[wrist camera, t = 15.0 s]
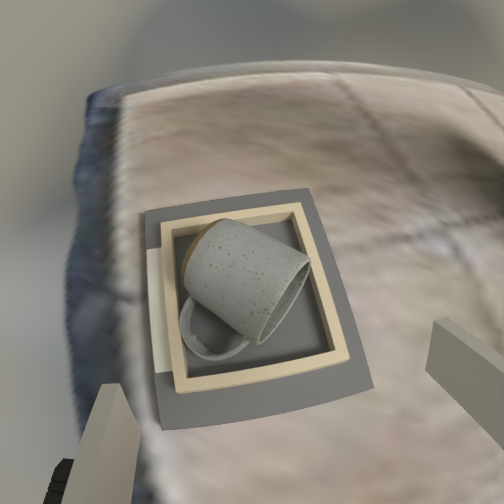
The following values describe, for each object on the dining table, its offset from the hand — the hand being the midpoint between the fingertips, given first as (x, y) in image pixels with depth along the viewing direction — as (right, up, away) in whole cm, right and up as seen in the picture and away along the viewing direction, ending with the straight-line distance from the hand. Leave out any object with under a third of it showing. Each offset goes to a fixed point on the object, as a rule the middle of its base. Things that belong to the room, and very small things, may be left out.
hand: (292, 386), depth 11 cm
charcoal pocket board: (-2, +1, +18) cm, 18 cm away
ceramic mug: (-3, 0, +16) cm, 16 cm away
